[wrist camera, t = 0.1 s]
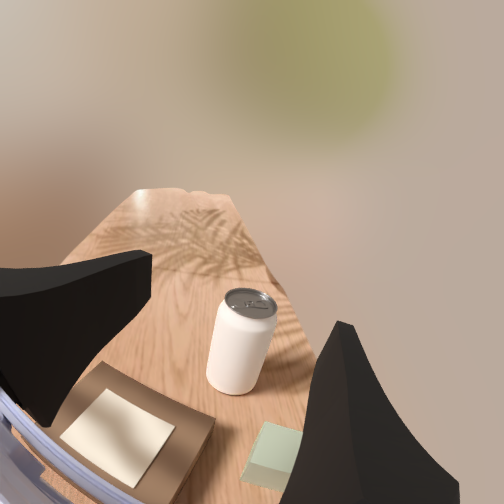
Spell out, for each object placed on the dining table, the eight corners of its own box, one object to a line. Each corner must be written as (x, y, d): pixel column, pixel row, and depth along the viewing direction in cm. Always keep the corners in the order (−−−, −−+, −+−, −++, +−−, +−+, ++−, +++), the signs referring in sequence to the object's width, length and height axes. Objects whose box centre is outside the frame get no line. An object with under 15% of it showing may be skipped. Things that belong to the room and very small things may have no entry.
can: (202, 360, 36) (215, 283, 31) (248, 360, 38) (270, 287, 33) (210, 398, 30) (227, 319, 26) (261, 395, 32) (290, 320, 28)
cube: (287, 493, 20) (306, 476, 18) (239, 480, 20) (250, 461, 19) (297, 456, 24) (314, 434, 22) (253, 444, 25) (265, 420, 23)
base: (154, 535, 13) (151, 531, 11) (31, 450, 15) (20, 435, 14) (212, 432, 25) (216, 417, 24) (105, 377, 28) (102, 359, 27)
